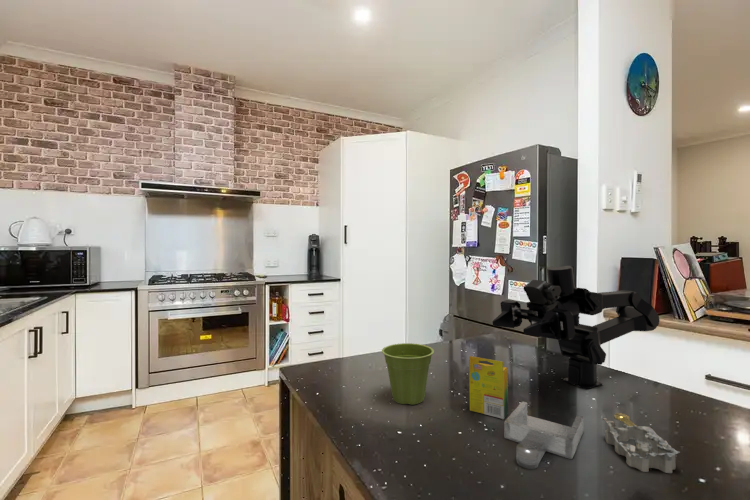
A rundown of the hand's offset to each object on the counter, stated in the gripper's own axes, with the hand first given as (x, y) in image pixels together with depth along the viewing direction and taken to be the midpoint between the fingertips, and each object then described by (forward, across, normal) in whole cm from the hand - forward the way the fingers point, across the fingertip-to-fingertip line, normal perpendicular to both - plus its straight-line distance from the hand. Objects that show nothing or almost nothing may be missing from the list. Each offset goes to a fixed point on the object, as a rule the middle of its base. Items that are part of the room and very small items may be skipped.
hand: (507, 327), depth 82 cm
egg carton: (-2, +25, +18) cm, 31 cm away
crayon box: (+10, +2, +16) cm, 19 cm away
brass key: (-10, +19, +19) cm, 28 cm away
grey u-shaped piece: (+11, +16, +15) cm, 24 cm away
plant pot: (+22, -11, +14) cm, 28 cm away
